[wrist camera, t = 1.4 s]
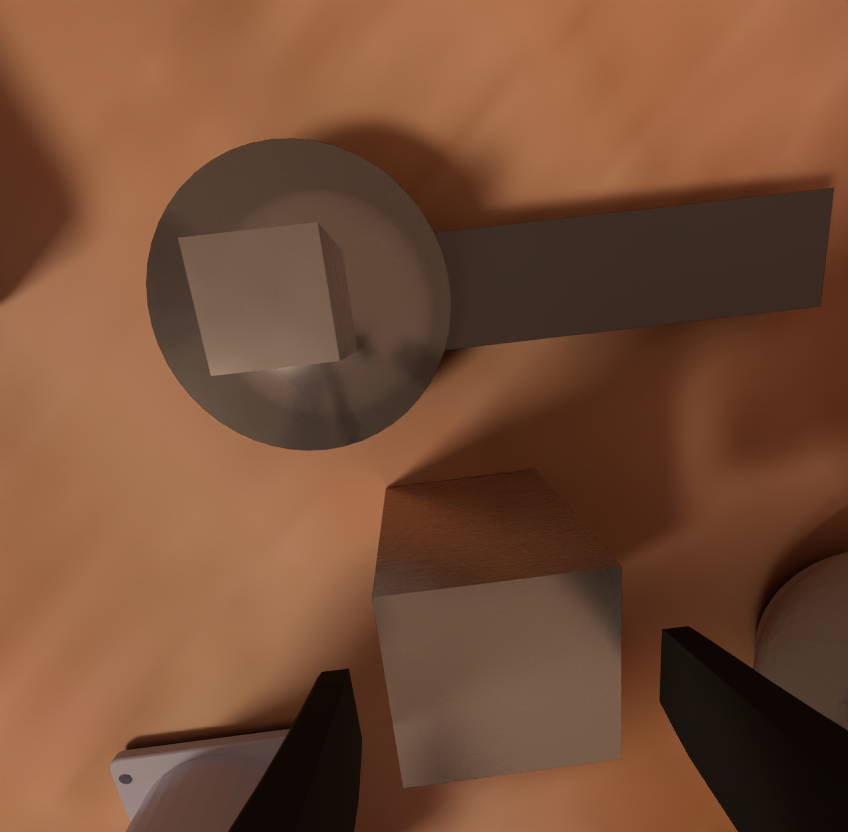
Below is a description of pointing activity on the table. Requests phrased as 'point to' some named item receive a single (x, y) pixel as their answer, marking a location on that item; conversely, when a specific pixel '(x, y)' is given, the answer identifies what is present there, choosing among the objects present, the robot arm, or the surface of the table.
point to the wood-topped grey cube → (496, 630)
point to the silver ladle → (425, 284)
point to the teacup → (809, 638)
